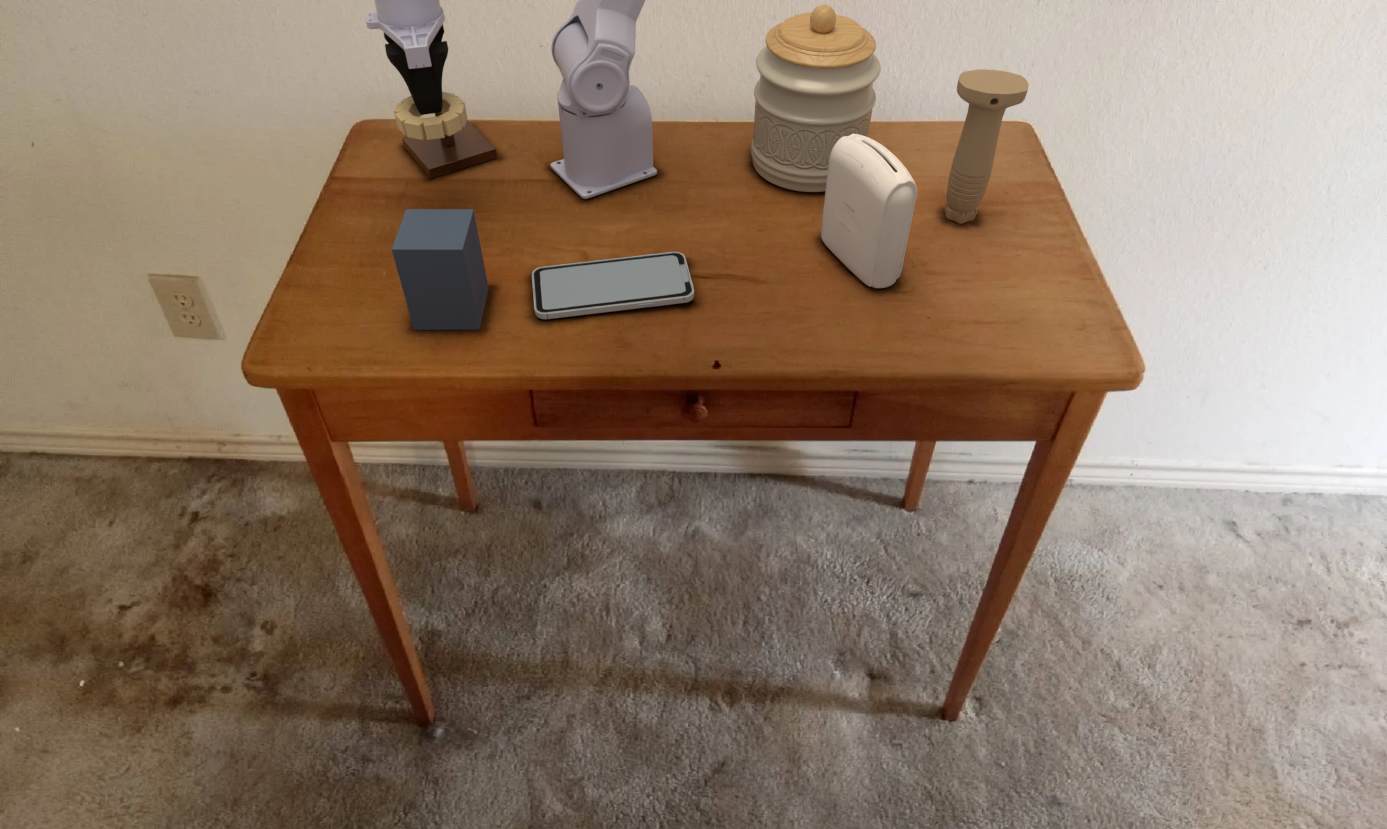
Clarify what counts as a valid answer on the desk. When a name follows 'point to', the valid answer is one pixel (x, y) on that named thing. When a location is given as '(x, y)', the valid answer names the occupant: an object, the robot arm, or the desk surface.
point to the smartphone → (611, 285)
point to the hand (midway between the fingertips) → (429, 106)
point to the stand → (450, 151)
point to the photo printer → (868, 209)
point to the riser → (441, 269)
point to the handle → (979, 137)
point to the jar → (811, 96)
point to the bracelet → (431, 118)
